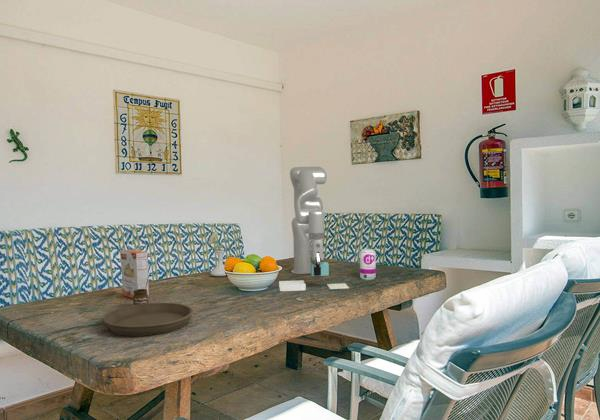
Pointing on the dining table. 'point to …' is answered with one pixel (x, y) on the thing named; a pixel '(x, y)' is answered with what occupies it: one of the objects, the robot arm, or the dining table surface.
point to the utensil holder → (140, 295)
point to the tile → (337, 286)
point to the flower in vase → (220, 267)
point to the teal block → (323, 269)
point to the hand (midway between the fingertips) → (316, 273)
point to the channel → (292, 285)
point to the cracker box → (134, 271)
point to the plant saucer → (147, 318)
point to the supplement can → (367, 264)
